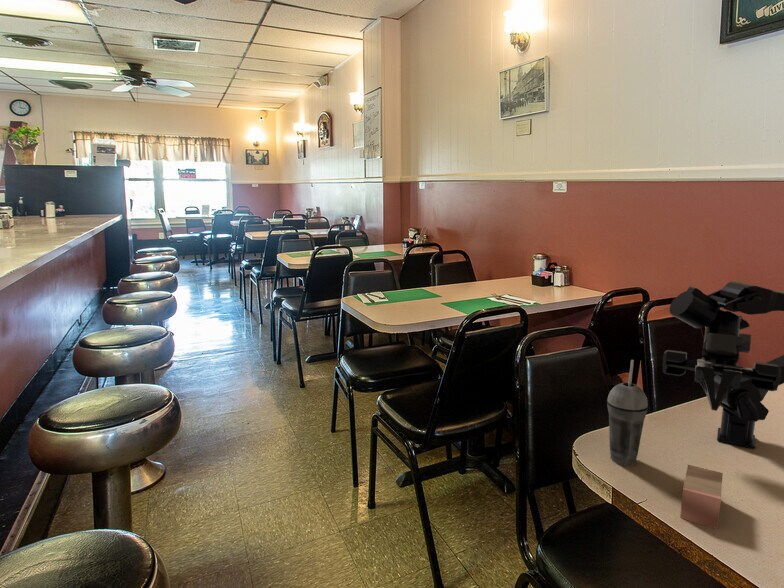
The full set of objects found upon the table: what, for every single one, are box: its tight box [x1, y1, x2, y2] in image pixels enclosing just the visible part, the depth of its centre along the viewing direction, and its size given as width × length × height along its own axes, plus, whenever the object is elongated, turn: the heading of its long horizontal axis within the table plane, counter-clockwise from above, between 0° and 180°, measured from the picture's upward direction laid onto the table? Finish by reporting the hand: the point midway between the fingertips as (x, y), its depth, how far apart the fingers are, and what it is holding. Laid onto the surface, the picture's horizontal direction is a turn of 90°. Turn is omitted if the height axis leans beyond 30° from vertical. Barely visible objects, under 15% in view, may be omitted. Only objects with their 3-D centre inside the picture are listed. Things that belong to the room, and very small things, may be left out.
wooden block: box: [679, 464, 724, 529], centre depth 81 cm, size 5×5×9 cm
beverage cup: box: [606, 359, 650, 467], centre depth 95 cm, size 7×7×20 cm
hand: (714, 409), depth 92 cm, fingers closed
